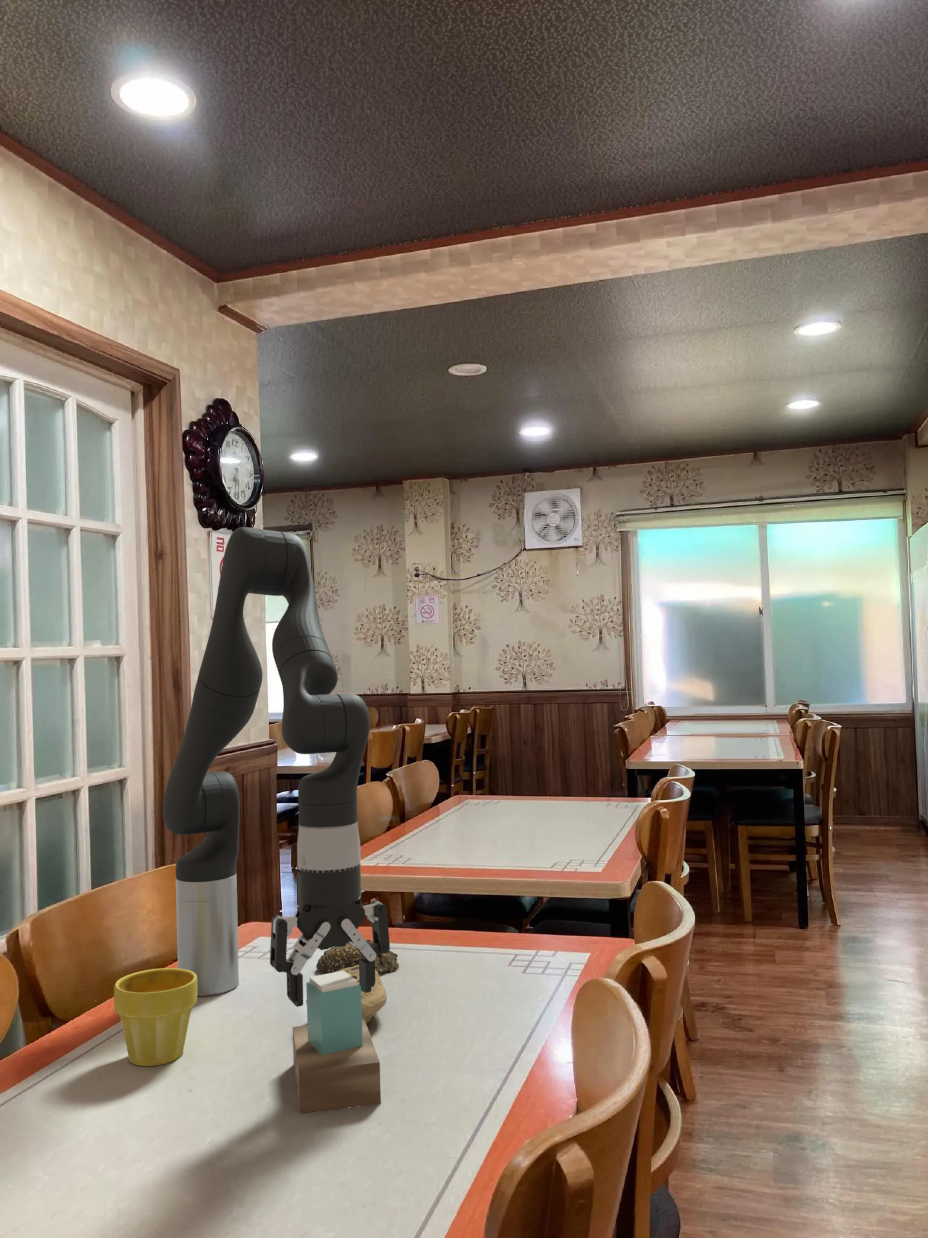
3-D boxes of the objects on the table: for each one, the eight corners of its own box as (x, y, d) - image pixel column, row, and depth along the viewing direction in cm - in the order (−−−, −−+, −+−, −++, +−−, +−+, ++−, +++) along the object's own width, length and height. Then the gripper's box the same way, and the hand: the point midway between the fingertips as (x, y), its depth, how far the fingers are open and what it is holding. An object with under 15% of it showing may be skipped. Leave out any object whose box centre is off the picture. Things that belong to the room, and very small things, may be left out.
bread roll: (306, 973, 159) (305, 942, 160) (356, 953, 169) (355, 924, 170) (366, 986, 152) (365, 954, 152) (415, 964, 162) (414, 934, 162)
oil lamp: (396, 1000, 144) (395, 945, 145) (379, 1040, 129) (377, 978, 130) (323, 1001, 145) (322, 946, 146) (297, 1040, 130) (296, 979, 131)
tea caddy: (307, 1041, 118) (306, 977, 118) (346, 1032, 120) (345, 969, 120) (322, 1055, 113) (320, 988, 113) (362, 1046, 116) (360, 980, 116)
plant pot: (214, 1045, 129) (213, 970, 130) (166, 1077, 120) (165, 996, 120) (148, 1037, 133) (147, 964, 133) (97, 1068, 123) (95, 989, 123)
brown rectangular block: (293, 1067, 122) (292, 1027, 122) (365, 1059, 124) (364, 1019, 124) (300, 1118, 108) (299, 1072, 109) (380, 1107, 111) (379, 1062, 111)
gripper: (372, 849, 124) (375, 978, 123) (262, 862, 118) (264, 999, 117) (396, 859, 117) (399, 996, 117) (280, 874, 111) (283, 1019, 110)
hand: (331, 997), depth 117 cm, fingers open, 8 cm apart
